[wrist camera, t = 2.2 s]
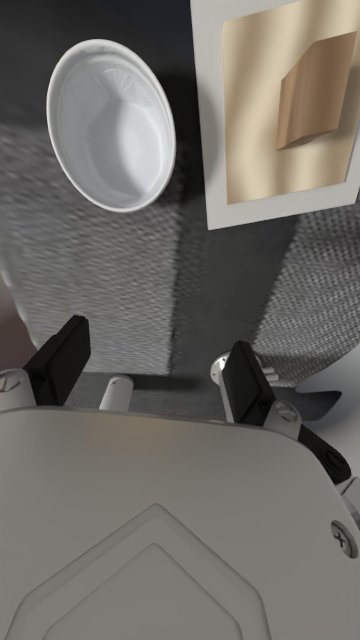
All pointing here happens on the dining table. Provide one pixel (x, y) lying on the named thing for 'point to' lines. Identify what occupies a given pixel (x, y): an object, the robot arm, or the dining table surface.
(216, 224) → the rubber mat
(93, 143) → the ramekin
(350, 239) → the dining table surface
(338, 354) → the dining table surface
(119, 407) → the travel mug
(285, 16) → the oak lid
